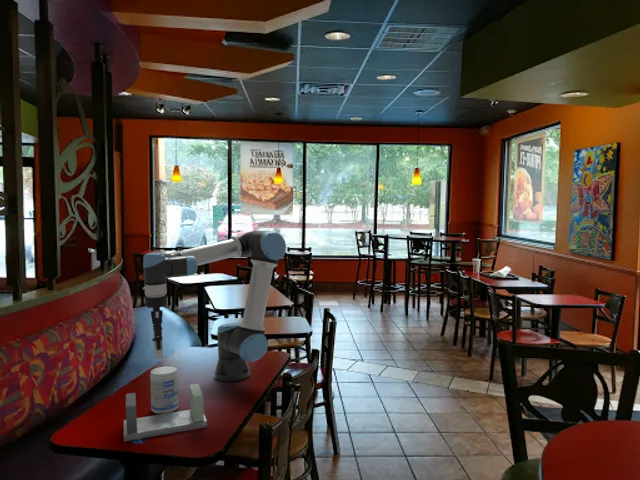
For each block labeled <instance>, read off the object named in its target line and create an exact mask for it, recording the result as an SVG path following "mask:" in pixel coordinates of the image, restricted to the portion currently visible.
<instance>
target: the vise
mask: <svg viewBox="0 0 640 480" xmlns="http://www.w3.org/2000/svg"><path fill="white" fill-rule="evenodd" d="M136 396H137V395H136V392H131V393H126V394H125V415H126V417H125V419H123V442H129V441H135V440H140V439H145V438H150V437H156V436H163V435H164V436H165V435H168V434H169V435H170V434H174V433H179V432H180V433H181V432H185V431H190V430H191V431H193V430H196V429H197V430H198V429H203V428H207V427H208V420H207V418H206V415H205V414H204V421H199V422H194V419H193V415H192V412H191V409H187V410H180V411H173V412H170V413H165V414H154V415H149V416H148V415H147V416H143V417H137V402H136V401H137V399H136Z"/></svg>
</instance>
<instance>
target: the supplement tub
mask: <svg viewBox="0 0 640 480" xmlns="http://www.w3.org/2000/svg"><path fill="white" fill-rule="evenodd" d="M178 377H179V376H178V369H177V367H175V366H160V367H156V368H153V369H152V370H150V404H151V405H150V407H151V412H153V413H154V414H156V415H160V414H166V413H173V412H176V410H177V409H178V408H179V380H178V379H179V378H178Z"/></svg>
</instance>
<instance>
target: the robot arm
mask: <svg viewBox="0 0 640 480" xmlns="http://www.w3.org/2000/svg"><path fill="white" fill-rule="evenodd" d="M286 250H287V242H286V240H285V239H284V236H282V234H280V233H279V232H276V231H272V230H251V231H248V232H247V231H246V232H245V233H241V234H238V235H234V236H231V237H230V239H227V240H222V241H218V242H214V243H210V244H205V245H199V246H195V247H191V248H188V249H183V250H182V249H181V250H179V251H175V252H169V253H164V252H149V253H145V254H144V255H143V260H142V262H143V263H142V264H143V265H142V268H143V277H144V278H143V280H144V287H142V290H144V295H145V298H144V303H145V307H146V308H148V309H152V310H151V311H150V318H151V323H152V327H153V328H152V330H153V331H152V332H153V334H152V335H153V336H152V337H153V338H152V339H151V340H152V342H153V350H154V359H155V360H157V359H159V360H160V359H164V351H163V350H164V348H163V345H164V344H163V331H162V330H163V327H162V323H163V310H161V308H163V307H166V306H168V297H167V291H168V289H167V287H168V286H167V279H170V278H179V277H188V276H193V275H195V274H196V273H197V272H198V266H202V265H206V264H210V263H214V262H218V261H221V260H226V259H230V258H233V257H234V258H236V259H238V258H239V259H240V258H242V257H243V258H244V257H248V258H249V257H250V262H251V263H252V269H251V274H250V280H249V285H248V290H247V295H246V301H245V306H244V310H243V316H242V321H240V322H230V323H224V324H221V325H219V326H218V327H217V333H216V335H217V352H218V353H217V355H218V358H217V359H218V360H217V362H216V363H217V364H216V367H215V370H214V378H215V379H216V380H217V381H220V382H237V381H241V380H245V379H248V378H249V377H250V375H251V371H250V367H249V364H248V362H256V361H259V360H260V359H261V358H263V357H264V355H265V354H266V353H267V351H268V347H269V343H268V340H267V337H266V336H265V335H266V334H265V333H266V327H265V326H264V321H265V320H264V319H265V315H266V308H267V303H268V299H269V294H270V293H269V292H270V288H271V282H272V277H273V271H274V268H276V267H278V265H279V260H280V259H281V258H282V257H283V256H284V255H285V253H286Z"/></svg>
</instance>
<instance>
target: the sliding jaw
mask: <svg viewBox="0 0 640 480" xmlns="http://www.w3.org/2000/svg"><path fill="white" fill-rule="evenodd" d="M189 401H190V402H189V404H190V405H189V406H190V409H189V410H191V412H192V415H193V419H194V422H199V421H204V415H205V412H204V395H203V392H202V390H201V387H200V385H199V383H194V384H189Z"/></svg>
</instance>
